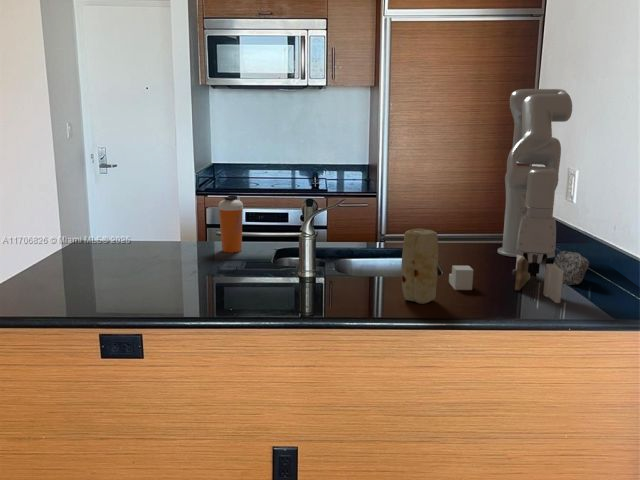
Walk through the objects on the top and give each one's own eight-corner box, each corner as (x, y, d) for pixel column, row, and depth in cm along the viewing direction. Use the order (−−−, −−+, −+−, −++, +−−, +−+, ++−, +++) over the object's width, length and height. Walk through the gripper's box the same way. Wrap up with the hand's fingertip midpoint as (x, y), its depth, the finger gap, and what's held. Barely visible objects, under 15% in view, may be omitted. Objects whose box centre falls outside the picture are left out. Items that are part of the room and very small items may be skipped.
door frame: (553, 302, 159) (556, 270, 157) (513, 270, 191) (516, 243, 189) (562, 302, 159) (565, 271, 157) (521, 270, 191) (523, 243, 189)
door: (509, 290, 170) (512, 260, 168) (522, 277, 183) (524, 249, 181) (519, 291, 169) (521, 261, 167) (530, 278, 182) (533, 250, 180)
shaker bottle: (216, 252, 212) (214, 198, 207) (224, 247, 220) (222, 194, 216) (240, 254, 210) (238, 198, 206) (247, 248, 219) (246, 195, 214)
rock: (591, 288, 172) (593, 254, 171) (561, 286, 173) (564, 252, 172) (574, 282, 187) (577, 251, 187) (547, 280, 188) (550, 249, 188)
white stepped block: (472, 290, 170) (473, 270, 169) (454, 289, 170) (456, 270, 169) (465, 282, 178) (466, 263, 177) (448, 281, 178) (450, 262, 177)
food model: (433, 297, 163) (437, 227, 159) (438, 305, 157) (442, 232, 152) (398, 297, 163) (401, 226, 159) (402, 304, 157) (405, 231, 152)
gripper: (511, 213, 164) (506, 276, 168) (568, 216, 160) (562, 281, 164) (510, 209, 171) (505, 270, 175) (565, 212, 167) (559, 274, 171)
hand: (533, 275), depth 169 cm, fingers closed
